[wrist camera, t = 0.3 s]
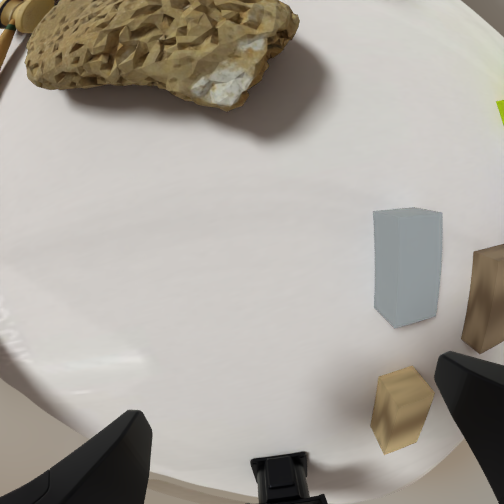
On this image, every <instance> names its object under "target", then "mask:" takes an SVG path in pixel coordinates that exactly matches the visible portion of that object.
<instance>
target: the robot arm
mask: <svg viewBox="0 0 504 504" xmlns="http://www.w3.org/2000/svg"><path fill="white" fill-rule="evenodd" d="M434 378H435V382H436V385H437V387H438V389H439V391H440V393H441V395H442V397H443V399H444V401H445V403H446V405H447V407H448V409H449V411H450V413H451V415H452V417H453V419H454V421H455V422H456V424H457V426H458V427H459V429H460V431H461V432H462V434H463V436H464V438H465V439H466V441H467V443H468V444H469V446H470V448H471V450H472V452H473V453H474V455H475V457H476V459H477V460H478V462H479V464H480V466H481V468H482V470H483V472H484V474H485V476H486V477H487V480H488V482H489V484H490V486H491V488H492V489H493V492H494V494H495V496H496V498H497V500H498V501H499V502H498V503H499V504H504V366H503V365H500V364H496V363H492V362H488V361H485V360H481V359H477V358H474V357H470V356H466V355H463V354H459V353H456V352H452V351H449V352H446V353H444V354H442V355H440V356H439V358H438V362H437V366H436V371H435V375H434ZM151 446H152V429H151V427H150V425H149V423H148V421H147V419H146V418H145V416H144V414H143V412H142V411H140V410H127V411H126V412H125V413H123V414H122V415H121V416H120V417H118V418H117V419H116V420H114V421H113V422H112V423H111V424H109V425H108V426H107V427H105V428H104V429H103V430H102V431H100V432H99V433H98V434H96V435H95V436H94V437H92V438H91V439H90V440H88V441H87V442H86V443H84V444H83V445H82V446H81V447H79V448H78V449H76V450H75V451H74V452H72V453H71V454H70V455H68V456H67V457H65V458H64V459H63V460H61V461H60V462H58V463H57V464H56V465H54V466H53V467H52V468H50V470H47V471H46V472H44V473H43V474H41V475H40V476H38V477H37V478H35V479H34V480H32V481H31V482H29V483H27V484H25V485H23V486H22V487H20V488H18V489H16V490H14V491H12V492H10V493H8V494H6V495H4V496H1V497H0V504H144V500H145V494H146V489H147V484H148V478H149V471H150V458H151ZM250 464H251V467H252V470H253V473H254V476H255V479H256V482H257V484H258V498H259V504H328V503H327V500H326V498H325V495H324V494H321V495H319V496H314V497H310V496H309V491H308V486H307V481H306V477H307V456H306V453H305V452H301V453H295V454H289V455H282V456H275V457H268V458H259V459H252V460H251V461H250ZM247 504H250V503H247Z"/></svg>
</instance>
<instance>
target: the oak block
mask: <svg viewBox="0 0 504 504" xmlns="http://www.w3.org/2000/svg"><path fill="white" fill-rule="evenodd" d="M434 394H435V392H434V391H433V390H432V389H431V388H430V386H429V385H428V384H427V383H426V382H425V380H424V379H423V378H422V377H421V376H420V374H419V373H418V372H417V371H416V370H415V368H414V367H413V366H410V367H407V368H404V369H401V370H398V371H395V372H392V373H389V374H386V375H382V376H379V378H378V385H377V392H376V398H375V404H374V409H373V414H372V420H371V424H370V426H371V428H372V430H373V432H374V434H375V437H376V439H377V441H378V443H379V445H380V447H381V449H382V451H383V453H384V455H385V454H388V453H391V452H394V451H396V450H399V449H401V448H404V447H406V446H409V445H411V444H413V443H416V442H417V440H418V437H419V435H420V432H421V430H422V427H423V425H424V422H425V420H426V417H427V414H428V412H429V409H430V406H431V403H432V400H433V397H434Z"/></svg>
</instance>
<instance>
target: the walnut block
mask: <svg viewBox="0 0 504 504" xmlns="http://www.w3.org/2000/svg"><path fill="white" fill-rule="evenodd" d="M461 339H462V340H463V341H464V342H466V343H467V344H468V345H469V346H470V347H472V348H473V349H474V350H475V351H476V352H478V353H479V354H482V353H483V352H485V351H487V350H489V349H491V348H492V347H494V346H496V345H497V344H499V343H501V342H503V341H504V244H501V245H498V246H494V247H490V248H486V249H482V250H478V251H474V253H473V267H472V277H471V286H470V293H469V300H468V306H467V312H466V318H465V323H464V328H463V333H462V337H461Z"/></svg>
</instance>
